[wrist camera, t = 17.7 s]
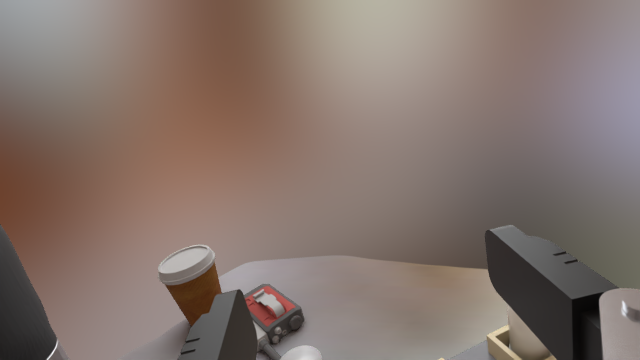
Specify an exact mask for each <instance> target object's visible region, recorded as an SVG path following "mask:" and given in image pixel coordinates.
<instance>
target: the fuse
mask: <svg viewBox="0 0 640 360" xmlns="http://www.w3.org/2000/svg"><path fill="white" fill-rule="evenodd" d="M507 314H508V325H509V337H510V343H509V349H510V350H511V351H513V352H514V353H515V354H516V355H517V356H518V357H520V358H521V359H522V360H545V359H547V358H548V357H550V356H552V354H551V352H550V351H549V350H548V349H547V348H546V347H545V346H544V345H543V343H542V342H541V341H540V340H539V339H538V338H537V337H536V336H535V334H534V333H533V332H532V331H531V330H530V329H529V328H528V326H527V325H526V324H525V323H524V322H523V321H522V320H521V319H520V317H519V316H518V315H517V314H516V313H515V312H514V311H513V310H512V308H511V307H510V306H509V305H508V304H507Z"/></svg>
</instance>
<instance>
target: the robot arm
mask: <svg viewBox="0 0 640 360" xmlns="http://www.w3.org/2000/svg"><path fill="white" fill-rule="evenodd" d="M485 242H486V252H487V262H488V272H489V277H490V280H491V282H492V284H493V286H494V288H495V290H496V291H497V293H498V294H499V295H500V296H501V297H502V298H503V299H504V300H505V302H506V303H507V304H508V305H509V306H510V307H511V308H512V310H513V311H514V312H515V313H516V314H517V315H518V316H519V317H520V319H521V320H522V321H523V322H524V323H525V324H526V325H527V326H528V328H529V329H530V330H531V331H532V332H533V333H534V334H535V336H536V337H537V338H538V339H539V340H540V341H541V342H542V343H543V345H544V346H545V347H546V348H547V349H548V350H549V351H550V352H551V354H552V355H553V356H554V357H555V358H556V359H557V360H640V290H639V289H630V288H618V287H617V286H615V285H614V284H612V283H611V282H610V281H608V280H606V279H605V278H604V277H602V276H601V275H599V274H598V273H596V272H595V271H594V270H592V269H590V268H589V267H588V266H586V265H585V264H583V263H582V262H580V261H579V262H578V261H577V259H576V258H575V257H573V256H572V255H570V254H569V253H566V251H564V250H563V249H562V248H560V247H559V246H557V245H556V244H554V243H553V242H551V241H548V240H545V239H542V238H539V237H536V236H531V237H528V236H527V235H526V234H524V233H523V232H522V231H520V230H519V229H518V228H516V227H515V226H513V225H507V226H503V227H499V228H495V229H490V230H487V231H486V233H485ZM185 342H186V344H184V346H183V348H182V350H181V355H180V356H179V358H178V360H256V355H257V347H258V340H257V333H256V328H255V325H254V323H253V320H252V317H251V314H250V312H249V309H248V306H247V303H246V301H245V298H244V295H243V293H242V291H241V290H239V289H238V290H234V291H230V292H226V293H222V294H217V295H216V296H215V298H214V301H213V303H212V306H211V309H210V312H209V313H207V314H202V315H201V317H200V318H199V319H198V320H197V321H196V322H195V324H194V325H193V326H192V327H191V329H190V331H189V334H188V336H187V338H186V341H185ZM0 360H70V359H69V357H68V355H67V354H66V352H65V350H64V348H63V347H62V345H61V343H60V342H59V340H58V338H57V337H56V335H55V333H54V332H53V330H52V328H51V326H50V324H49V321H48V318H47V316H46V313H45V310H44V307H43V305H42V303H41V301H40V299H39V297H38V295H37V293H36V291H35V290H34V288H33V286H32V284H31V283H30V280H29V278H28V276H27V274H26V272H25V270H24V268H23V266H22V264H21V262H20V260H19V257H18V255H17V253H16V251H15V249H14V247H13V245H12V243H11V241H10V239H9V238H8V236H7V234H6V232H5V231H4V229H3V228H2V226H1V225H0Z"/></svg>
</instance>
